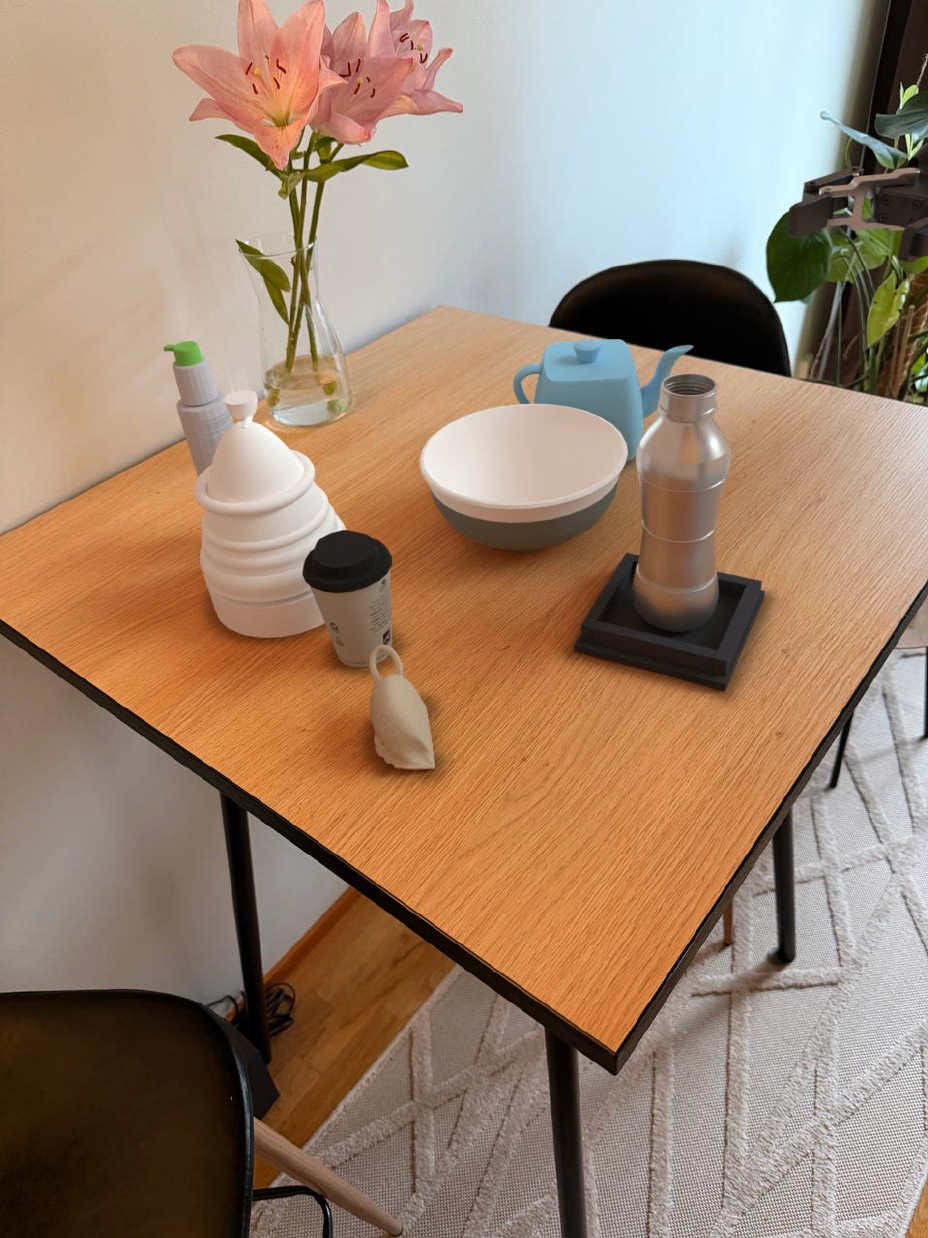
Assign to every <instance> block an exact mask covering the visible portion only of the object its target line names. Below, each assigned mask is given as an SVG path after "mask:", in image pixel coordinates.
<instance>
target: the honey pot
mask: <svg viewBox="0 0 928 1238" xmlns="http://www.w3.org/2000/svg"><path fill="white" fill-rule="evenodd" d="M224 401H225V404H226V407H227V409H228V410H229V412H230V413H231V416H232V417H234V418H235V419H237V420H239V421H237V422H234V425H232V426H231V427H230V428H229V429H228V430H227V431H226V432H225V433H224V435H223V436H222V438H221V440H220V442H219V444H218V446H217V448H216V451H215V454H214V457H213V460H212V464H211V466H209V467H208V468H207V469H206V470H205V471H203V472H202V473H201V474H200V475H199V477H198V476H197V479H196V480H195V482H194V484H193V496H194V498H195V500H196V502H197V504H198V506H200V507H202V508H203V509H204V513H203V515H202V517H201V547H200V551H199V553H200V554H199V565H200V569H201V571H202V573H203V578H204V580H205V585H206V588H207V590H208V593H209V596H210V599H211V603H212V605H213V608H214V611H215V613H216V615H217V617H218V620H219V622H221V624H222V625H224V626H225V627H226V628H227V629H229V630H230V631H234V632H235V633H238V634H240V635H242V636H247V637H252V638H259V639H270V638H283V637H289V636H294V635H299V634H302V633H305V632H308V631H311V630H313V629H316V628H318V627H320V626H323V625H325V622H324V620H323V617H322V615H321V612H320V610H319V607H318V605H317V602H316V600H315V597H314V595H313V592H312V590H311V588H310V585H309V584H308V583H306V582H305V580H304V577H303V575H302V571H303V565H304V561H305V559H306V557H307V556H308V554H309V553H310V551H312V550H313V549H314V548H315V546H316V543H317V541H318V540H319V539H320V538H322V537H324V536H326V535H328V534H330V533H334V532H338V531H341V530H347V528H346V525H345V524H344V522H343V521H342V520H341V518H340V516H339V515H338V514H337V513H336V511H335V508H334V507H333V506H332V505H331V503H330V501H329V498H328V495H326V493H325V492H324V490H322V489H323V488H321V487H319V486H318V485H317V483H316V482H315V478H316V469H315V465H314V463H313V462H312V461H311V460H310V458H309V457H308V456H307V455H305V454H303V453H301V452H300V451H297V450H295V449H294V450H293V449H290V448H289V447H288V446H287V444H286V443H285V442H284V441H283V440H282V439H281V438H280V437H278V436H277V435H276V433H274V432H273V431H271V430H270V429H268V428H267V427H266V426H264V425H262V424H260V423H258V422H254V421H253V419H254V416H255V415H256V413H257V411H258V394H257V392H256V391H254V390H250V389H243V390H237V391H236V390H235V391H234V392H231V393H229V394H226V397H225V399H224Z"/></svg>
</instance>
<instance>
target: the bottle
mask: <svg viewBox="0 0 928 1238" xmlns="http://www.w3.org/2000/svg"><path fill="white" fill-rule="evenodd" d="M163 352H172V353H173V355H174V361H173V362H172V370H173V375H174V378H175V383H176V386H177V390H178V394H179V396H180V398H179V399H178V401H177V402H176V410H177V414H178V417H179V420H180V424H181V426H182V430H183V434H184V436H185V440H186V443H187V447H188V450H189V452H190V455H191V458H192V461H193V465H194V469H195V471H196V475H197V478H198V477H199V475H200V474H201V473H202V472H203V471H205V470H206V469H207V468H208V467H209V466H211V464H212V460H213V457H214V454H215V451H216V448H217V446H218V444H219V442H220V440H221V438H222V436H223V435H224V433H225V432H226V431H227V430H228V429H229V428H230V427H231V426H232V425H234V424H235V422H234V420H233V415H232V414H231V413H230V412H229V410H228V409H227V407H226V404H225V401H224V399H225V397H226V396H227V394H225V393H224V392H223V391H222V390H218V387H217V385H216V384H217V383H216V381H215V377H214V374H213V371H212V368H211V366H210V362H209V359H208V357H207V356H206V355H203V354H202V352H201V349H200V347H199V344H198V342H197V341H193V340H186V341H181V342H178V343H176V344H166V345H165V346H164V347H163Z"/></svg>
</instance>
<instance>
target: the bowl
mask: <svg viewBox="0 0 928 1238" xmlns="http://www.w3.org/2000/svg"><path fill="white" fill-rule="evenodd" d="M627 456H628V450H627V443H626V442H625V440H624V438H623V436H622V434H621V433H620V431H618V430H617V429H616V428H615V427H614V426H613V425H612V424H611V423H609V422H608V421H606V420H604V419H603V418H601V417H599V416H597V415H594V414H592V413H589V412H587V411H583V410H579V409H576V408H572V407H566V406H559V405H551V404H534V403H530V404H520V403H519V404H518V403H517V404H510V405H503V406H502V405H501V406H496V407H491V408H487V409H482V410H479V411H476V412H473V413H469V414H466V415H464V416H462V417H460V418H457V419H456V420H453V421H451V422H449V423H448V424H446V425H445V426H443V427H442V428H440V429H438V430H437V431H436V432H435V433H434V434H433V435H432V436H431V437H430V438H429V439H428V440H427V441H426V443H425V445H424V446H423V448H422V450H421V452H420V457H419V460H418V463H419V470H420V474H421V476H422V477H423V478H424V480H425V482H426V483H427V484H428V487H429V488H430V492H431V497H432V500H433V504H434V506H435V508H436V509H437V511H438V513H439V514H440V515H441V516H442V517H443V519H444V520H445V521H446V522H447V523H448V525H449V526H451V527H452V528H453V529H454V530H455V531H456V532H458V533H459V534H461V535H463V536H464V537H466V538H467V539H470V540H472V541H474V542H477V543H478V544H480V545H485V546H487V547H491V548H495V549H499V550H504V551H508V552H512V553H513V552H514V553H533V552H538V551H543V550H547V549H549V548H552V547H555V546H559V545H561V544H564V543H567V542H568V541H569V542H570V541H571V540H573V539H575V538H576V537H578V536H579V535H581V534H583V533H584V532H586V531H588V530H589V529H591V528H592V527H593V526H595V524H597V523H598V522H599V521H600V520H601V519H602V518H603V515H604V514H605V513H606V511H607V510H608V508H609V507H610V505H611V504H612V502H613V501H614V499H615V498H616V494H617V492H618V488H619V482H620V481H619V480H620V474H621V472H622V470H623V468H624V467H625V466H626V463H627V461H626V459H627Z"/></svg>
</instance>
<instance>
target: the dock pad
mask: <svg viewBox="0 0 928 1238" xmlns="http://www.w3.org/2000/svg"><path fill="white" fill-rule="evenodd" d="M638 561H639V554H635V553H631V552H626V553H624V556H622V558H621V560H620V561H619V563H618V565H617V566H616V568H615V570H614V571H613V573H612V574H611V576H610V578H609V579H608V581H607V582H606V584H605V585H604V587H603V589H602V590H601V592H600V593H599V595H598V596H597V598H596V600H595V602H593V604H592V606H591V608H590V609H589V611H588V612H587V614H586V616H585V617H584V619H583V620H582V621H581V624H580V633H579V635H578V637H577V639H576V641H575V642H574V644H573V650H574V653H578V654H581V655H585V656H589V657H593V658H596V659H600V660H604V661H608V662H612V663H616V664H620V665H623V666H627V667H631V668H634V669H639V670H642V671H646V672H648V673H649V672H650V673H654V674H658V675H661V676H665V677H667V678H672V679H677V680H681V681H684V682H686V683H687V682H688V683H692V684H695V685H699V686H703V687H707V688H710V689H714V690H718V691H722V692H726V691H727V688H728V686H729V683H730V681H731V679H732V675H733V674H734V671H735V668H736V666H737V664H738V661H739V659H740V657H741V655H742V652H743V650H744V647H745V646H746V642H747V640H748V638H749V636H750V633H751V631H752V628H753V627H754V624H755V621H756V618H757V617H758V614H759V611H760V609H761V607H762V605H763V602H764V599H765V595H766V591H765V590H762V583H763V581H762V580H758V579H754V578H750V577H746V576H741V575H736V574H730V573H726V572H722V571H717V576H718V587H719V598H718V601H717V604H716V607H715V610H714V612H713V615H712V616H711V617H710V618H709V619H708V620H707V621H706V622H705V623H704V624H702V625H701V626H700V627H698V628H696V629H693V630H689V631H684V632H671V631H665V630H661V629H658V628H655V627H653V626H652V625H650V624H648V623H647V622H646V621H645V620H644V619H643V618H642V617H641V615H640V614H639V613H638V612H637V610H636V608H635V604H634V599H633V593H632V586H633V581H634V575H635V571H636V567H637V564H638Z"/></svg>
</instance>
